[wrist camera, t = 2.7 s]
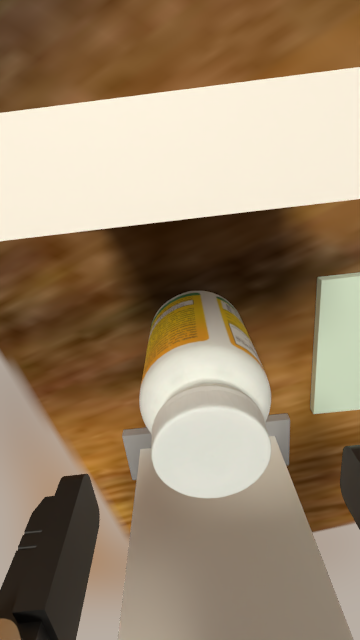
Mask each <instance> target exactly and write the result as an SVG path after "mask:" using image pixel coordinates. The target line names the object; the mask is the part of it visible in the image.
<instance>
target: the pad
mask: <svg viewBox="0 0 360 640" xmlns="http://www.w3.org/2000/svg"><path fill="white" fill-rule="evenodd" d="M310 409H311V411H312V412H313V414H319V413H329V412H339V411H349V410H359V409H360V272H359V273H350V274H341V275H332V276H323V277H317V291H316V309H315V328H314V346H313V364H312V382H311V400H310Z"/></svg>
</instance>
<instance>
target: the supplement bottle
mask: <svg viewBox="0 0 360 640" xmlns="http://www.w3.org/2000/svg"><path fill="white" fill-rule="evenodd" d="M270 406H271V391H270V385H269V382H268V379H267V376H266V374H265V371H264V369H263V366H262V364H261V362H260V360H259V357H258V355H257V353H256V351H255V348H254V346H253V344H252V342H251V340H250V337H249V335H248V333H247V330H246V328H245V326H244V324H243V322H242V319H241V317H240V315H239V313H238V312H237V310H236V309H235V308H234V306H233V305H232V304H231V303H230V302H229V301H227V300H226V299H225V298H223V297H221V296H219V295H217V294H215V293H212V292H208V291H188V292H185V293H182V294H179V295H177V296H175V297H173V298H172V299H170V300H168V301H167V302H166V303H165V304H164V305H163V306H162V307H161V308H160V309H159V310H158V312H157V313H156V315H155V317H154V319H153V322H152V325H151V329H150V335H149V341H148V347H147V353H146V360H145V366H144V372H143V377H142V383H141V389H140V410H141V414H142V418H143V420H144V423H145V425H146V427H147V428H148V430H149V431H150V433H151V434H152V443H151V459H152V462H153V466H154V468H155V471H156V473H157V475H158V476H159V477H160V479H161V480H162V481H163V482H164V483H165V484H166V485H168V486H169V487H170V488H172V489H174V490H175V491H177V492H180V493H182V494H184V495H187V496H191V497H197V498H220V497H225V496H229V495H232V494H235V493H238V492H240V491H242V490H244V489H246V488H247V487H249V486H250V485H252V484H253V483H255V482H256V480H257V479H259V478H260V476H261V475H262V474H263V473H264V471H265V469H266V468H267V466H268V464H269V461H270V457H271V441H270V437H269V434H268V431H267V428H266V425H265V422H266V420H267V417H268V414H269V411H270Z"/></svg>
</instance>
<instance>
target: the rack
mask: <svg viewBox="0 0 360 640" xmlns="http://www.w3.org/2000/svg"><path fill="white" fill-rule="evenodd" d="M354 199H360V67H357V68H349V69H342V70H334V71H326V72H318V73H310V74H302V75H295V76H287V77H279V78H271V79H263V80H255V81H248V82H240V83H232V84H224V85H216V86H208V87H201V88H193V89H185V90H177V91H169V92H161V93H154V94H146V95H138V96H130V97H122V98H115V99H107V100H99V101H91V102H83V103H75V104H68V105H60V106H52V107H44V108H36V109H28V110H21V111H13V112H5V113H0V241H4V240H13V239H21V238H30V237H39V236H47V235H56V234H64V233H73V232H81V231H90V230H98V229H107V228H115V227H124V226H132V225H141V224H149V223H158V222H166V221H175V220H183V219H192V218H200V217H209V216H218V215H226V214H235V213H243V212H252V211H260V210H269V209H277V208H286V207H294V206H303V205H311V204H320V203H328V202H337V201H345V200H354ZM265 425H266V428H267V431H268V434H269V437H270V441H271V457H270V461H269V464H268V466H267V468H266V469H265V471H264V473H263V474H262V475H261V476H260V478H259V479H257V480H256V482H255V483H253V484H252V485H250V486H249V487H247V488H246V489H244V490H242V491H240V492H238V493H235V494H232V495H229V496H225V497H220V498H197V497H191V496H187V495H184V494H182V493H180V492H177V491H175V490H174V489H172V488H170V487H169V486H168V485H166V484H165V483H164V482H163V481H162V480H161V479H160V477H159V476H158V475H157V473H156V471H155V468H154V466H153V462H152V459H151V443H152V434H151V433H150V431H149V430H148V428H138V429H128V430H123V435H122V437H123V442H124V446H125V450H126V454H127V459H128V463H129V467H130V472H131V476H132V480H137V482H136V490H135V499H134V507H133V515H132V524H131V532H130V541H129V549H128V558H127V566H126V575H125V583H124V591H123V601H122V608H121V617H120V625H119V634H118V640H353V637H352V635H351V632H350V630H349V627H348V624H347V622H346V619H345V616H344V614H343V611H342V609H341V606H340V604H339V601H338V598H337V596H336V594H335V591H334V588H333V585H332V583H331V580H330V578H329V575H328V573H327V570H326V568H325V565H324V562H323V560H322V557H321V554H320V552H319V550H318V547H317V544H316V542H315V539H314V537H313V534H312V531H311V529H310V526H309V523H308V521H307V518H306V516H305V513H304V511H303V508H302V505H301V503H300V500H299V498H298V495H297V492H296V490H295V487H294V485H293V482H292V480H291V477H290V474H289V472H288V469H287V467H286V465H289V442H290V418H289V416H288V414H287V413H286V414H277V415H268V417H267V420H266V422H265Z"/></svg>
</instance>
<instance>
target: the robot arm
mask: <svg viewBox="0 0 360 640" xmlns="http://www.w3.org/2000/svg"><path fill="white" fill-rule="evenodd" d="M340 487H341V492H342V495H343V498H344V501H345V503H346V505H347V507H348V509H349V511H350V513H351V514H352V516H353V518H354V520H355V522H356V524H357V525H358V527H359V529H360V445H355V446H345V447H344V449H343V456H342V466H341V477H340ZM98 529H99V508H98V504H97V500H96V497H95V494H94V490H93V487H92V484H91V480H90V477H89V475H88V474H81V475H73V476H64V477H62V478H61V480H60V482H59V485H58V488H57V491H56V493H55V496H50V497H45V498H44V499H43V500H42V502H41V503H40V504H39V505H38V507H37V508H36V509H35V510H34V511H33V513H32V515H31V517H30V519H29V522H28V524H27V527H26V529H25V534H24V535H23V536H22V539H21V541H20V544H19V546H18V551H16V553H15V556H14V558H13V560H12V563H11V565H10V568H9V570H8V573H7V575H6V577H5V580H4V582H3V585H2V587H1V590H0V640H76V636H77V631H78V626H79V621H80V617H81V611H82V607H83V602H84V597H85V592H86V588H87V583H88V578H89V573H90V568H91V563H92V558H93V554H94V549H95V544H96V539H97V534H98Z"/></svg>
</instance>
